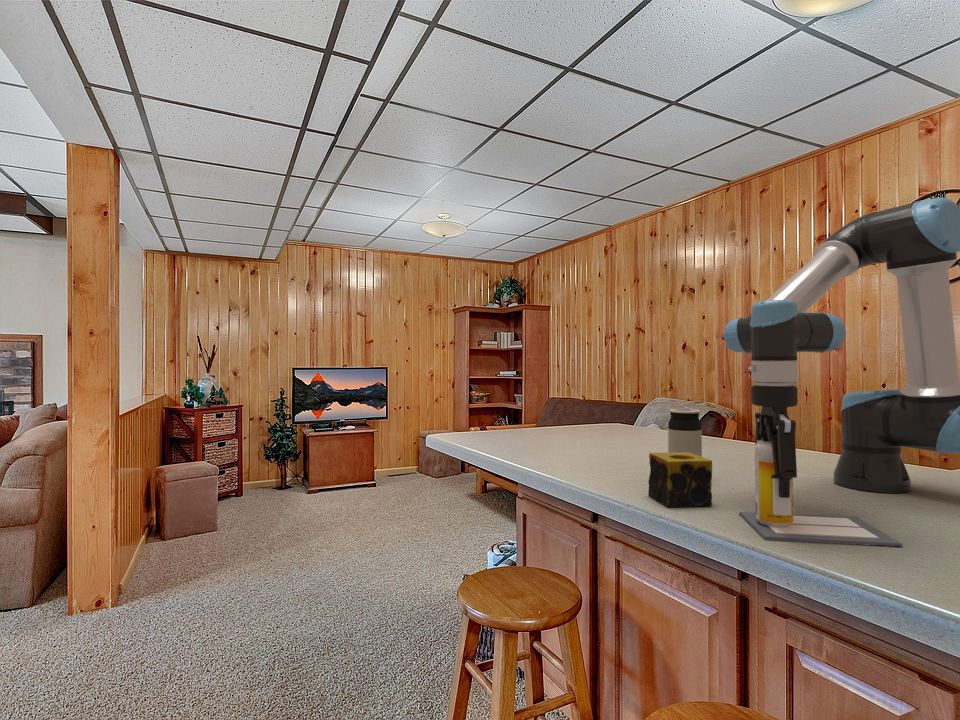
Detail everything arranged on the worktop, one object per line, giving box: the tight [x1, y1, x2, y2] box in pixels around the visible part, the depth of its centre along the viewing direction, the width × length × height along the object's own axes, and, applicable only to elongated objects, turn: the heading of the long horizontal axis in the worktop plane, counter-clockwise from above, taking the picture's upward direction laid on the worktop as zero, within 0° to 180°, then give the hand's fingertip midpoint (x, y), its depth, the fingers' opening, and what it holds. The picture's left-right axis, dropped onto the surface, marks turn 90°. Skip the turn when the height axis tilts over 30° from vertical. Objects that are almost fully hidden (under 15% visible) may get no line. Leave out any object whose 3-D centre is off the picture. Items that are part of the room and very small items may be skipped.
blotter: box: [738, 511, 903, 548], centre depth 97 cm, size 21×15×1 cm
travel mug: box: [667, 408, 703, 457], centre depth 136 cm, size 8×8×18 cm
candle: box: [648, 452, 713, 509], centre depth 117 cm, size 10×10×10 cm
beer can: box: [754, 440, 794, 527], centre depth 98 cm, size 6×6×15 cm
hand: (774, 508), depth 98 cm, fingers open, 7 cm apart
